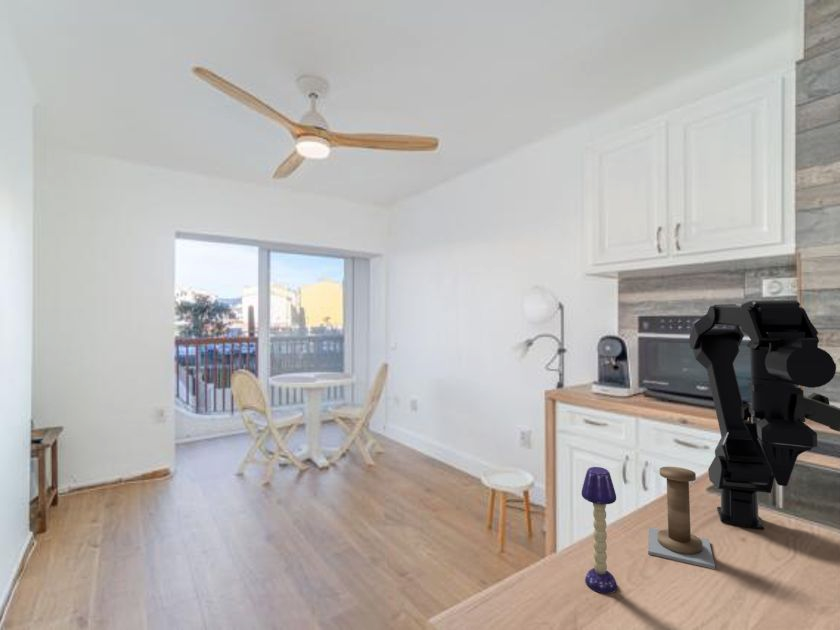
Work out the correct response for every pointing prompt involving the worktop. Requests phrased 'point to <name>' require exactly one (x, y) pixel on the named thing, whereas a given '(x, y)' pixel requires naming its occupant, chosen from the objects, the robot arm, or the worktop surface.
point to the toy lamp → (599, 526)
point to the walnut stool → (679, 512)
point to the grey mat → (697, 559)
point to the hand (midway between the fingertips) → (774, 475)
